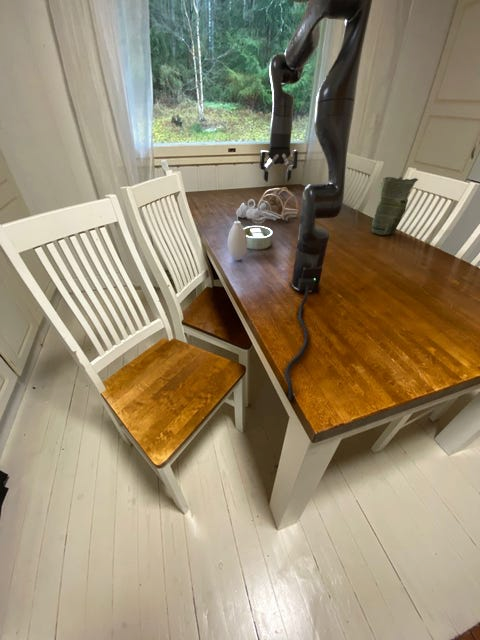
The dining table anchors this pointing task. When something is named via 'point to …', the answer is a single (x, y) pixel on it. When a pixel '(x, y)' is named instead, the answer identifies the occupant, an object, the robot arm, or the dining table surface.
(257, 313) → the dining table surface
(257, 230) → the mustard cube
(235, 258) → the sauce bottle
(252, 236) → the blue cube
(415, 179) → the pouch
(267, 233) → the bowl
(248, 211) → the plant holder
